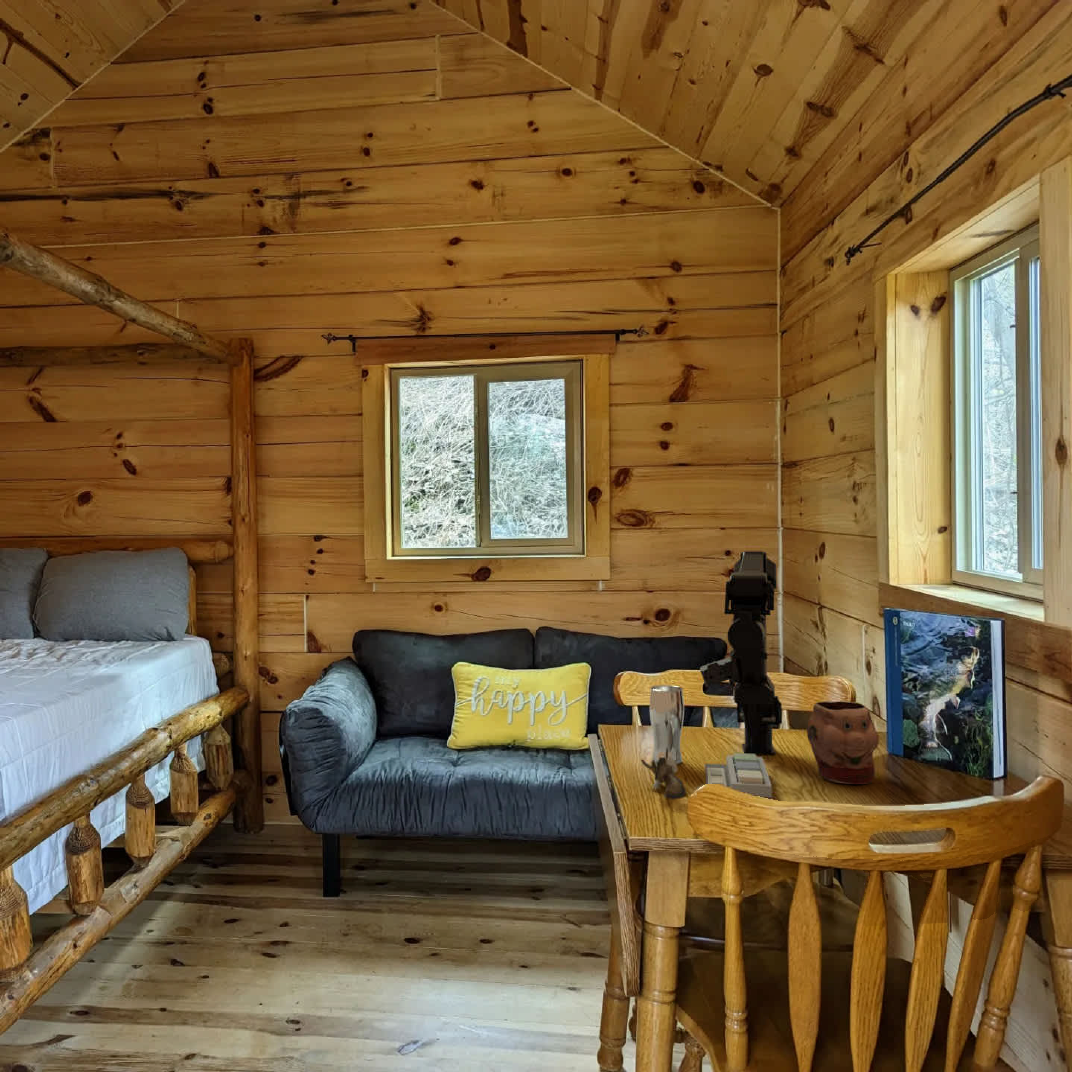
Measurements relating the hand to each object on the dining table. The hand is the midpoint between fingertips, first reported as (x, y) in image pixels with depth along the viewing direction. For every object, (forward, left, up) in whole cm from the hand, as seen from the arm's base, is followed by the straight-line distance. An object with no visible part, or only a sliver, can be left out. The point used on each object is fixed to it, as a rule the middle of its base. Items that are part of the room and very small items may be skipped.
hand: (749, 733), depth 136 cm
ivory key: (0, 0, -9) cm, 9 cm away
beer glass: (-19, -15, -11) cm, 27 cm away
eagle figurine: (0, -15, -11) cm, 19 cm away
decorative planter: (-15, +18, -11) cm, 26 cm away
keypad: (-5, -2, -11) cm, 12 cm away
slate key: (-5, 0, -9) cm, 10 cm away
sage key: (-11, 0, -9) cm, 14 cm away
